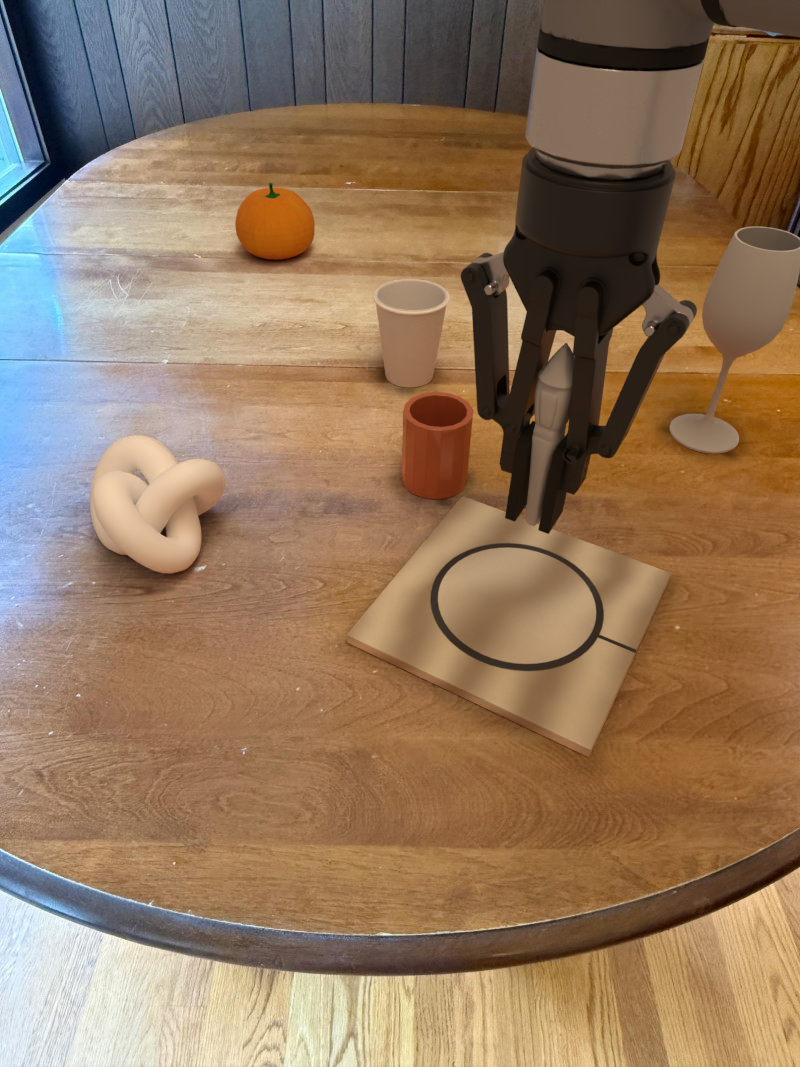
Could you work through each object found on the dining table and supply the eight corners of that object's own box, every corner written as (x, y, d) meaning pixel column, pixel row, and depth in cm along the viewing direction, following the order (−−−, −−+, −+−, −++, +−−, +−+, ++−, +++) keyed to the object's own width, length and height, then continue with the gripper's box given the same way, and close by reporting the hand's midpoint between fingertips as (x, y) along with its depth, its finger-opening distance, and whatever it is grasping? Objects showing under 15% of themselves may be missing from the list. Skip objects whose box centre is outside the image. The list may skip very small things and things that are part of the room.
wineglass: (655, 435, 83) (710, 239, 69) (685, 406, 87) (744, 216, 73) (723, 463, 79) (796, 263, 65) (751, 431, 84) (826, 237, 69)
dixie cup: (455, 366, 93) (460, 286, 86) (428, 400, 87) (432, 318, 80) (391, 351, 95) (392, 272, 89) (361, 383, 90) (360, 302, 83)
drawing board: (669, 581, 66) (672, 571, 66) (588, 758, 54) (591, 749, 53) (461, 503, 74) (462, 494, 73) (346, 642, 61) (346, 633, 60)
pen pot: (477, 472, 77) (484, 404, 72) (448, 507, 73) (453, 437, 68) (421, 452, 80) (424, 385, 74) (390, 485, 76) (390, 416, 70)
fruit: (322, 263, 114) (318, 193, 108) (242, 270, 112) (233, 199, 106) (310, 233, 123) (305, 167, 116) (235, 239, 121) (226, 171, 114)
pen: (558, 521, 55) (596, 341, 45) (538, 541, 53) (573, 359, 44) (528, 506, 56) (559, 328, 46) (507, 525, 54) (535, 344, 45)
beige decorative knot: (205, 483, 75) (190, 404, 69) (257, 555, 68) (245, 474, 62) (88, 523, 71) (61, 442, 65) (131, 605, 63) (104, 523, 57)
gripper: (770, 159, 38) (653, 520, 54) (493, 112, 43) (461, 454, 59) (739, 206, 33) (620, 587, 49) (431, 147, 38) (414, 509, 54)
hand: (534, 514), depth 54 cm, fingers closed on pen, 2 cm apart
